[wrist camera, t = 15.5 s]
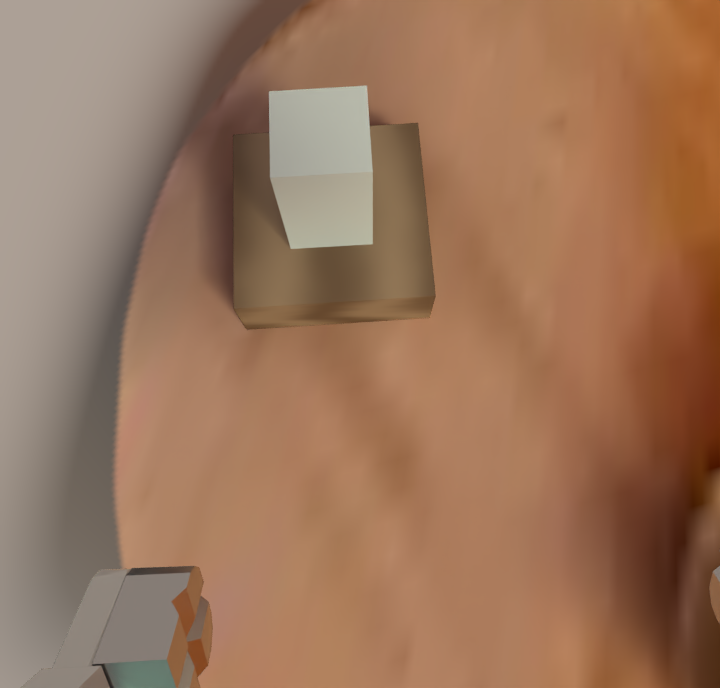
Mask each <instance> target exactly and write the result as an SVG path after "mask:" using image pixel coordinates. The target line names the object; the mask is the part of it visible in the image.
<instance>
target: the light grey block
mask: <svg viewBox="0 0 720 688" xmlns="http://www.w3.org/2000/svg"><path fill="white" fill-rule="evenodd" d="M269 138H270V179H271V183H272V186H273V190H274V193H275V196H276V200H277V203H278V207H279V210H280V214H281V217H282V220H283V224H284V227H285V231H286V234H287V237H288V241H289V244H290V248H291V249H299V248H316V247H334V246H351V245H368V244H373V168H372V154H371V139H370V124H369V109H368V95H367V86H352V87H335V88H318V89H301V90H284V91H269Z"/></svg>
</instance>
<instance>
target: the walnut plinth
mask: <svg viewBox="0 0 720 688" xmlns="http://www.w3.org/2000/svg"><path fill="white" fill-rule="evenodd" d="M370 139H371V154H372V168H373V244H368V245H351V246H334V247H316V248H299V249H291V248H290V244H289V241H288V237H287V234H286V231H285V227H284V224H283V220H282V217H281V214H280V210H279V207H278V203H277V200H276V196H275V193H274V190H273V186H272V183H271V179H270V138H269V132H268V133H253V134H237V135H233V271H234V310H235V312H236V313H237V315H238V316H239V318H240V320H241V321H242V323H243V324H244V326H245V328H246V329H262V328H278V327H294V326H309V325H325V324H341V323H356V322H372V321H388V320H403V319H419V318H430V315H431V311H432V307H433V304H434V300H435V296H436V295H435V285H434V275H433V266H432V256H431V246H430V236H429V226H428V217H427V207H426V197H425V187H424V177H423V168H422V158H421V148H420V138H419V128H418V123H408V124H393V125H377V126H370Z"/></svg>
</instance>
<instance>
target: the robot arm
mask: <svg viewBox="0 0 720 688" xmlns="http://www.w3.org/2000/svg"><path fill="white" fill-rule="evenodd" d="M719 552H720V550H719ZM203 583H204V581H203V578H202V575H201V571H200V568H199V567H196V566H182V567H153V568H132V569H112V570H99V571H98V573H96V575H95V576H94V577H93V578H92V579H91V581H90V583H89V585H88V588H87V590H86V592H85V594H84V597H83V599H82V601H81V603H80V606H79V608H78V610H77V612H76V615H75V617H74V619H73V621H72V624H71V626H70V628H69V631H68V633H67V635H66V637H65V640H64V642H63V644H62V646H61V649H60V651H59V653H58V655H57V658H56V660H55V662H54V665H53V667H52V668H48V669H41V670H40V671H39V672H38V673H37V674H35V675H34V676H33V677H32V678H31V679H30V680H29V681H28V682H26V683H25V684H24V685H23V686H22V687H21V688H200V684H199V681H198V676H199V675H200V674H201V673H202V672H203V671H204V670H205V669H206V667H207V666H208V663H209V658H210V653H211V647H212V630H213V625H212V614H211V609H210V605H209V602H208V601H207V600H206V599H204V598H203V597H202V596H201V592H202V587H203ZM709 591H710V599H711V606H712V608H713V611H714V613H715V616H716V619H717V621H718V622H719V624H720V566H719V567H718V568H716V569H715V570H714V571H713V573H712V577H711V581H710V585H709Z"/></svg>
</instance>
